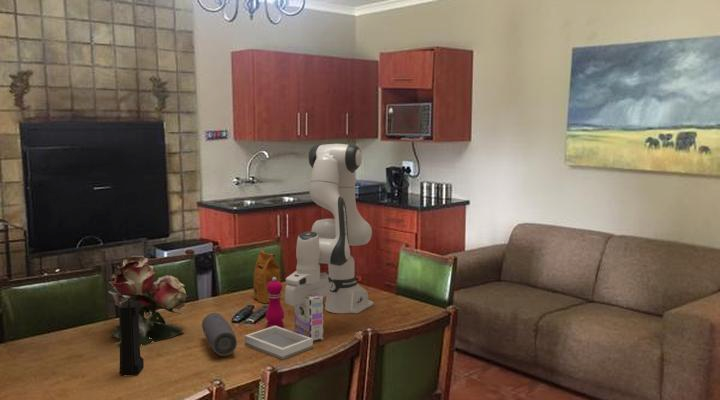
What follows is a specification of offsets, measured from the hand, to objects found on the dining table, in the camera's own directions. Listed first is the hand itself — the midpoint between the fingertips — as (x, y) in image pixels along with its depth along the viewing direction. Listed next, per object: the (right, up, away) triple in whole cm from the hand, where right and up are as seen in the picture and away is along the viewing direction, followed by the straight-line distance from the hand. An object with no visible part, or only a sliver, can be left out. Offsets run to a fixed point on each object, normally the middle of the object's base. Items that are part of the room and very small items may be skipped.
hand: (308, 311), depth 230 cm
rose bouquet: (-63, -9, +4) cm, 63 cm away
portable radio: (-54, -14, -31) cm, 64 cm away
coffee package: (-23, -3, +46) cm, 52 cm away
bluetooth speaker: (-31, -11, -11) cm, 35 cm away
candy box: (0, -9, +2) cm, 10 cm away
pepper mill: (-14, -8, +11) cm, 20 cm away
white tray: (-10, -11, -10) cm, 17 cm away
